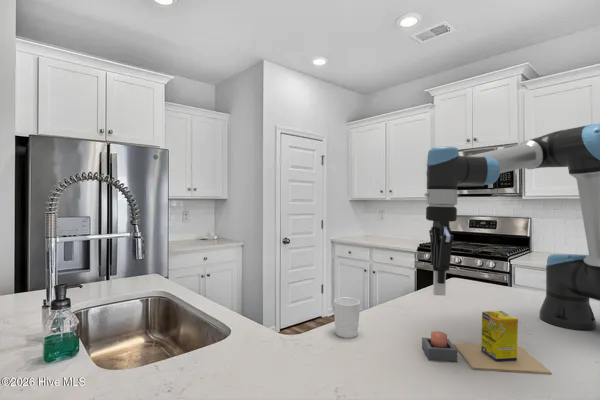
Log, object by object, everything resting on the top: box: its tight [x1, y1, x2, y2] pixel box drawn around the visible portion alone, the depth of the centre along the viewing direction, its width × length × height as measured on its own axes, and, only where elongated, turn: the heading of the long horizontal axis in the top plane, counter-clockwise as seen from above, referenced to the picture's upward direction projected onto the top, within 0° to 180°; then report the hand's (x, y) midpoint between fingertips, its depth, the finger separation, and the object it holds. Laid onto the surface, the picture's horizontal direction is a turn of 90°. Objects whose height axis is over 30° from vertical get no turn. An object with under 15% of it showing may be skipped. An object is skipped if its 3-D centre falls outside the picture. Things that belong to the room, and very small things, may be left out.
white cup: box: [333, 296, 361, 339], centre depth 105 cm, size 8×8×10 cm
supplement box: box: [480, 310, 519, 362], centre depth 90 cm, size 6×6×11 cm
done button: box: [430, 330, 448, 348], centre depth 91 cm, size 4×4×4 cm
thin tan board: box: [452, 342, 552, 375], centre depth 90 cm, size 18×14×1 cm
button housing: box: [421, 337, 458, 363], centre depth 91 cm, size 7×7×3 cm
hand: (439, 294), depth 91 cm, fingers closed
